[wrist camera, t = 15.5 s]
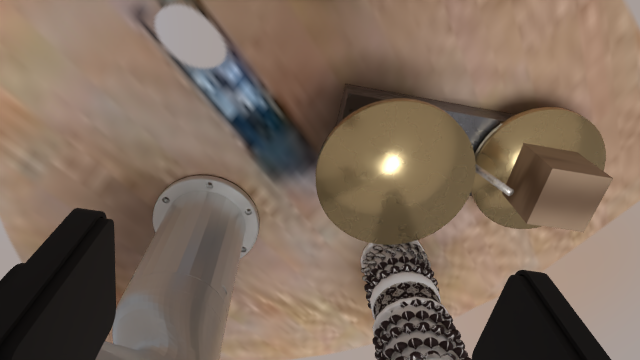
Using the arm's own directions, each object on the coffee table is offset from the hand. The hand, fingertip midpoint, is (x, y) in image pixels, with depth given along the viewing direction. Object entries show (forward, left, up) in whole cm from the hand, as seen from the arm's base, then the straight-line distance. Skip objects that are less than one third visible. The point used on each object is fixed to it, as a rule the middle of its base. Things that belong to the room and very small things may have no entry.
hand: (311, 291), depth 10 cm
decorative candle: (-26, -16, -38) cm, 49 cm away
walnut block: (-9, -27, -33) cm, 44 cm away
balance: (-9, -18, -38) cm, 43 cm away
